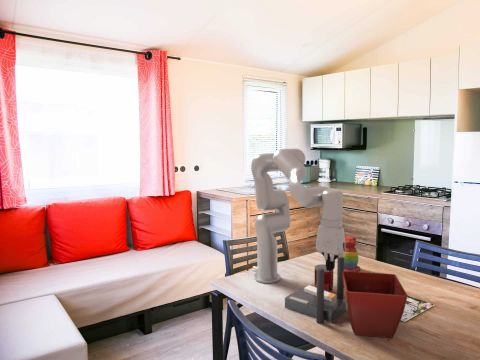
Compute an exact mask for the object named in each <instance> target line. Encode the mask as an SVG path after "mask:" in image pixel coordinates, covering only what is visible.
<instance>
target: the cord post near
mask: <svg viewBox="0 0 480 360" xmlns="http://www.w3.org/2000/svg"><path fill="white" fill-rule="evenodd" d="M315 319H316V320H315V321H316V324H318V325H323V324H324V322H325V321H324V269H323V268H318V269H317V312H316V318H315Z"/></svg>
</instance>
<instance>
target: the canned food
mask: <svg viewBox="0 0 480 360" xmlns="http://www.w3.org/2000/svg"><path fill="white" fill-rule="evenodd" d="M318 268H323V269H324V291H327V292H330V293H334V269H333V270H332V271H329V270H328V271H327V270H326V264H322V263H321V264H320V263H319V264H316V265H315V266H314V285H313V287H316V288H317V269H318Z"/></svg>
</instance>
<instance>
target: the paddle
mask: <svg viewBox="0 0 480 360" xmlns="http://www.w3.org/2000/svg"><path fill="white" fill-rule="evenodd" d="M303 288H304V291H305V292H308V293H310V294H313V295H316V296H317V288H316V287H314V285H310V284H309V285H307V286H305V287H303ZM336 298H337V293H334V292H332V293H330V292H327V291H324V299H326V300H329V301H331V302H332V301H333V300H335V299H336Z"/></svg>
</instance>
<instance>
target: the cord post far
mask: <svg viewBox="0 0 480 360" xmlns="http://www.w3.org/2000/svg"><path fill="white" fill-rule="evenodd" d="M336 260H337V263H336V266H337V268H336V269H337V270H336V271H337V272H336V295H337V298H341V299H344V297H345V291H344V285H343V277H342V272H343V271H344V257H343V258H337V259H336ZM344 300H345V299H344Z"/></svg>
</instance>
